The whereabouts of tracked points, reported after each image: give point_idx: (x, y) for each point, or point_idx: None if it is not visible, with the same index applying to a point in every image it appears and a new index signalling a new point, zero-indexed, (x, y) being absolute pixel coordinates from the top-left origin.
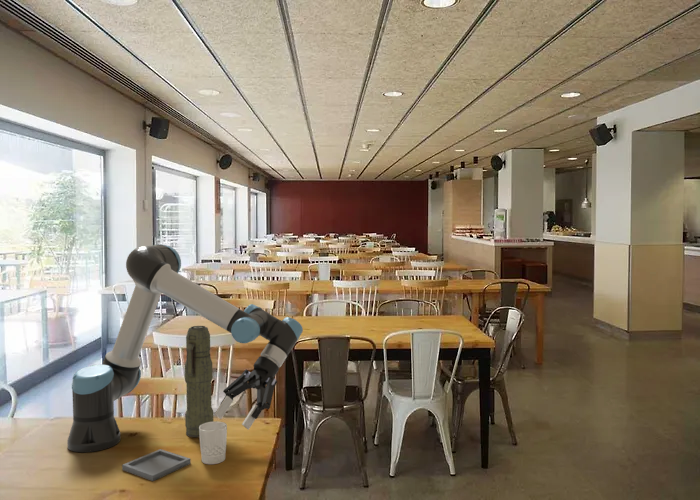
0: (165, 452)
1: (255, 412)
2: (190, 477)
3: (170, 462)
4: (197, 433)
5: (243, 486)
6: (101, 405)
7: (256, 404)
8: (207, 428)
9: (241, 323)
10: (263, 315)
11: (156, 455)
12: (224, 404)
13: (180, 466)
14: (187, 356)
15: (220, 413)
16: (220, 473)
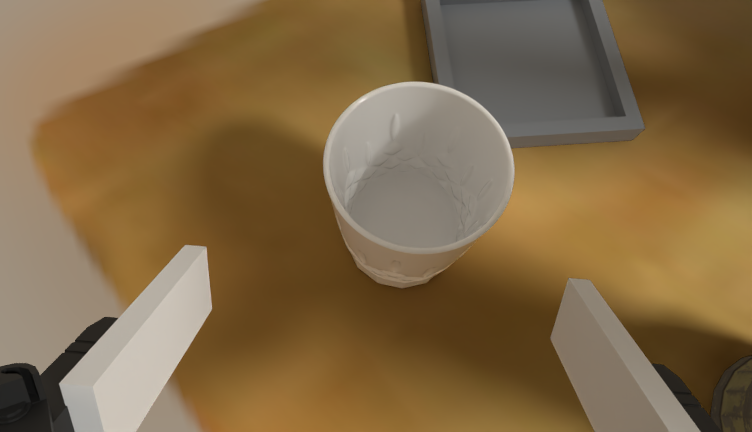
0: (592, 120)
1: (80, 347)
2: (338, 83)
3: (502, 99)
4: (740, 375)
5: (100, 144)
6: None
7: (18, 366)
8: (493, 194)
9: None
10: None
11: (611, 106)
12: (611, 372)
13: None
14: None
15: (570, 327)
16: (265, 165)
